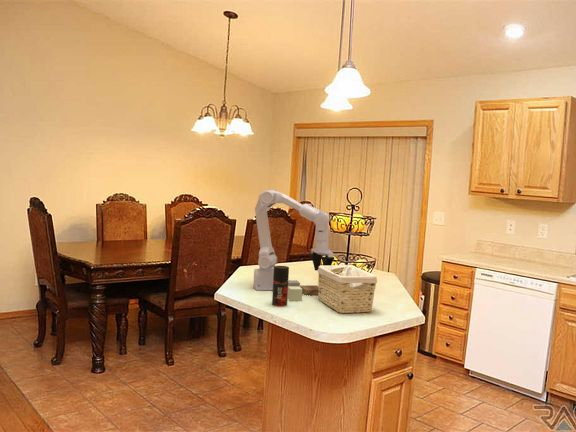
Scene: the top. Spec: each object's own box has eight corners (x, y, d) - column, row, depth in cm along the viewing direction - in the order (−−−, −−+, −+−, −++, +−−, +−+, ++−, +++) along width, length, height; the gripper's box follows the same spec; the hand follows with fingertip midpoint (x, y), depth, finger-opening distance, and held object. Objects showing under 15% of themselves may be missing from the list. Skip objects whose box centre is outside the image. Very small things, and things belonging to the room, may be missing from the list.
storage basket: (314, 299, 205) (316, 264, 204) (349, 297, 210) (351, 264, 209) (337, 315, 182) (340, 276, 181) (376, 313, 187) (379, 275, 186)
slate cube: (288, 294, 211) (288, 282, 210) (285, 291, 215) (286, 280, 215) (299, 294, 212) (300, 282, 211) (296, 291, 217) (297, 280, 216)
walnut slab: (304, 296, 209) (304, 289, 209) (299, 292, 217) (300, 285, 217) (322, 296, 211) (322, 289, 211) (316, 292, 219) (317, 285, 219)
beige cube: (290, 301, 199) (290, 289, 199) (287, 298, 204) (287, 286, 203) (301, 301, 200) (302, 289, 200) (298, 298, 205) (299, 286, 205)
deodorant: (274, 306, 189) (276, 268, 188) (270, 302, 195) (272, 265, 194) (288, 306, 191) (290, 268, 190) (284, 302, 197) (286, 265, 195)
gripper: (339, 241, 206) (339, 273, 207) (320, 238, 219) (320, 268, 220) (325, 242, 203) (325, 275, 204) (307, 239, 216) (307, 269, 216)
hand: (321, 271), depth 211 cm, fingers open, 7 cm apart
